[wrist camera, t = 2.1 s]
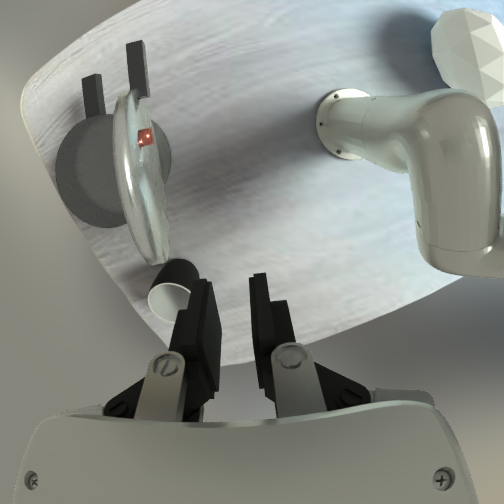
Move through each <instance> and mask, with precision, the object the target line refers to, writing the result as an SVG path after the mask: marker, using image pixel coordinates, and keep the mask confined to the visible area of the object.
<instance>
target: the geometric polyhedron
mask: <svg viewBox="0 0 504 504" xmlns="http://www.w3.org/2000/svg"><path fill="white" fill-rule="evenodd" d="M431 43H432V57H433V59H434V61H435V63H436V66H437V68H438V70H439V72H440V75H441V77H442V79H443V81H444V82H445V83H446V84H448V85H449V86H450V87H451V88H455V89H463V90H467V91H470V92H472V93H474V94H476V95H477V96H479V97H480V98H481V99H482V100H483V101H484V102H485V103H486V104H487V106H488V107H489V109H492V108H496V107H499V106H503V105H504V26H503V25H502V24H501V23H500V22H499V21H498V20H497V19H496V18H495V17H494V16H493V15H492V14H488V13H485V12H481V11H477V10H473V9H468V8H461V9H455V10H450V11H445V12H443V13H442V14H441V16H440V17H439V19H438V21H437V22H436V24H435V25H434V27H433V28H432V30H431Z"/></svg>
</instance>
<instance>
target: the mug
mask: <svg viewBox="0 0 504 504" xmlns="http://www.w3.org/2000/svg"><path fill="white" fill-rule="evenodd" d="M196 279H200V278H199V273H198V271H197V269H196V267H195V266H194V265H193V264H192V263H191V262H189V261H187V260H184V259H175V260H172V261H170V262H169V263H167V264H166V265H165V266H164V267H163V269H162V270H161V271H160V273H159V274H158V276H157V277H156V279H155V280H154V282H153V284H152V286H151V288H150V290H149V293H148V297H147V302H148V306H149V308H150V310H151V311H152V313H153V314H154V315H155V316H157V317H158V318H159V319H161V320H163V321H165V322H168V323H173V324H175V321H176V317H177V313H178V311H179V310H181V309H187V306H188V302H189V297H190V293H191V288H192V284H193V280H196Z"/></svg>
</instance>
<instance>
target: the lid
mask: <svg viewBox="0 0 504 504" xmlns="http://www.w3.org/2000/svg"><path fill="white" fill-rule="evenodd" d="M126 52H127V64H128V74H129V83H130V90H129V91H125V92H123V93H121V94H120V96H119V97H118V100H117V103H116V106H115V111H114V118H113V156H114V166H115V173H116V180H117V185H118V190H119V195H120V200H121V204H122V207H123V211H124V215H125V218H126V221H127V224H128V227H129V230H130V232H131V235H132V237H133V240H134V242H135V244H136V246H137V248H138V250H139V252H140V254H141V255H142V257H143V258H144V259H145V261H146V262H147V263H148V264H150V265H158V264H163V263H166V262H167V261H168V257H169V225H168V214H167V205H166V198H165V190H164V184H163V179H164V177H163V171H162V166H161V160H160V154H159V148H158V143H156V138H155V134H154V129H153V125H152V121H151V117H150V113H149V110H148V107H147V104H146V101H145V99H144V98H147V97H150V89H149V81H148V72H147V62H146V51H145V44H144V42H143V41H142V40H140V41H136V42H132V43H128V44H126Z"/></svg>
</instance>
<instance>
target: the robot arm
mask: <svg viewBox="0 0 504 504" xmlns="http://www.w3.org/2000/svg"><path fill="white" fill-rule="evenodd" d="M334 95H335V96H336V98H334ZM319 123H322V125H321V126H320V125H319ZM316 129H317V133H318V136H319V138H320V140H321V142H322V143H323V145H324V146H325V147H326V148H327V149H328V150H329V151H330V152H331V153H333V154H334V155H336V156H338V157H340V158H343V159H347V160H359V159H363V158H364V159H366V160H368V161H370V162H372V163H374V164H376V165H378V166H380V167H383V168H385V169H387V170H389V171H392V172H395V173H402V174H404V173H409V176H410V183H411V190H412V192H413V201H414V211H415V222H416V236H417V243H418V248H419V251H420V253H421V255H422V257H423V258H424V260H425V261H426V262H427V263H428V264H429V265H431V266H432V267H434V268H436V269H437V270H440V271H442V272H445V273H449V274H454V275H460V276H470V277H482V278H497V279H504V214H501V197H502V156H501V146H500V138H499V133H498V129H497V125H496V122H495V119H494V117H493V115H492V113H491V111H490V109H489V107H488V106H487V104H486V103H485V102H484V101H483V100H482V99H481V98H480V97H479V96H477V95H476V94H474V93H472V92H470V91H467V90H463V89H455V88H445V89H436V90H432V91H428V92H424V93H419V94H414V95H404V96H370V95H368V94H367V93H365V92H363V91H360V90H358V89H352V88H348V89H340V90H337V91H334V92H332V93H331V94H329V95H328V96H327V97H326V98H325V99H324V100H323V101H322V103H321V104H320V106H319V108H318V111H317V115H316ZM337 150H338V152H336V151H337ZM249 289H250V306H251V324H252V339H253V348H254V355H255V362H256V369H257V375H258V382H259V388H260V389H263V388H264V390H265V396H266V397H267V398H269V399H270V400H272V401H273V402H274V403H275V411H276V418H277V419H267V420H254V421H240V422H239V421H238V422H203V415H204V403H205V402H207V401H208V400H209V399H214V392H218V391H219V378H220V357H221V339H222V328H221V323H220V318H219V314H218V309H217V305H216V300H215V296H214V291H213V286H212V282H211V281H209V282H207V279H196V280H193V284H192V288H191V293H190V297H189V302H188V306H187V309H181V310H179V311H178V313H177V317H176V321H175V325H174V329H173V333H172V337H171V342H170V346H169V350H168V351H166V352H162V353H159V354H158V355H156V356H154V358H153V359H152V360H151V361H150V363H149V366H148V369H147V373H146V376H145V377H144V378H143V379H141V380H140V381H138V382H137V383H135V384H134V385H132V386H131V387H129V388H128V389H126V390H125V391H123V392H121V393H120V394H118V395H117V396H115V397H114V398H112V399H111V400H110V401H109V402H108V403H107V404H106V406H102V404H99V405H95V406H90V407H85V408H79V409H74V410H68V411H65V412H62V413H61V414H60V415H56V416H52V417H49V418H47V419H45V420H43V421H42V422H40V424H39V425H38V426H37V427H36V429H35V430H34V432H33V434H32V436H31V439H30V441H29V443H28V446H27V448H26V451H25V454H24V457H23V460H22V463H21V466H20V470H19V474H18V478H17V482H16V487H15V491H14V496H13V501H12V504H479V503H478V499H477V495H476V491H475V488H474V484H473V482H472V478H471V475H470V472H469V469H468V466H467V463H466V460H465V457H464V455H463V452H462V450H461V447H460V445H459V443H458V440H457V438H456V436H455V434H454V432H453V430H452V428H451V426H450V425H449V423H448V421H447V420H446V418H445V417H444V416H443V414H442V413H441V412H440V411H439V410H438V409H436V408H435V406H434V400H433V397H432V396H431V395H430V394H429V393H428V392H426V391H423V390H404V389H383V388H376V389H375V391H374V390H367V389H366V387H364V386H362V385H361V384H359V383H357V382H355V381H353V380H350V379H348V378H346V377H344V376H342V375H340V374H338V373H336V372H334V371H332V370H329V369H327V368H326V367H324V366H322V365H320V364H317V363H316V362H314V361H313V357H312V354H311V352H310V350H309V349H308V348H307V347H306V346H305V345H303V344H301V343H296V340H295V336H294V331H293V326H292V322H291V317H290V313H289V308H288V304H287V300H281V301H272V302H270V298H269V291H268V284H267V278H266V273H257V274H254V277H250V278H249Z"/></svg>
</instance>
